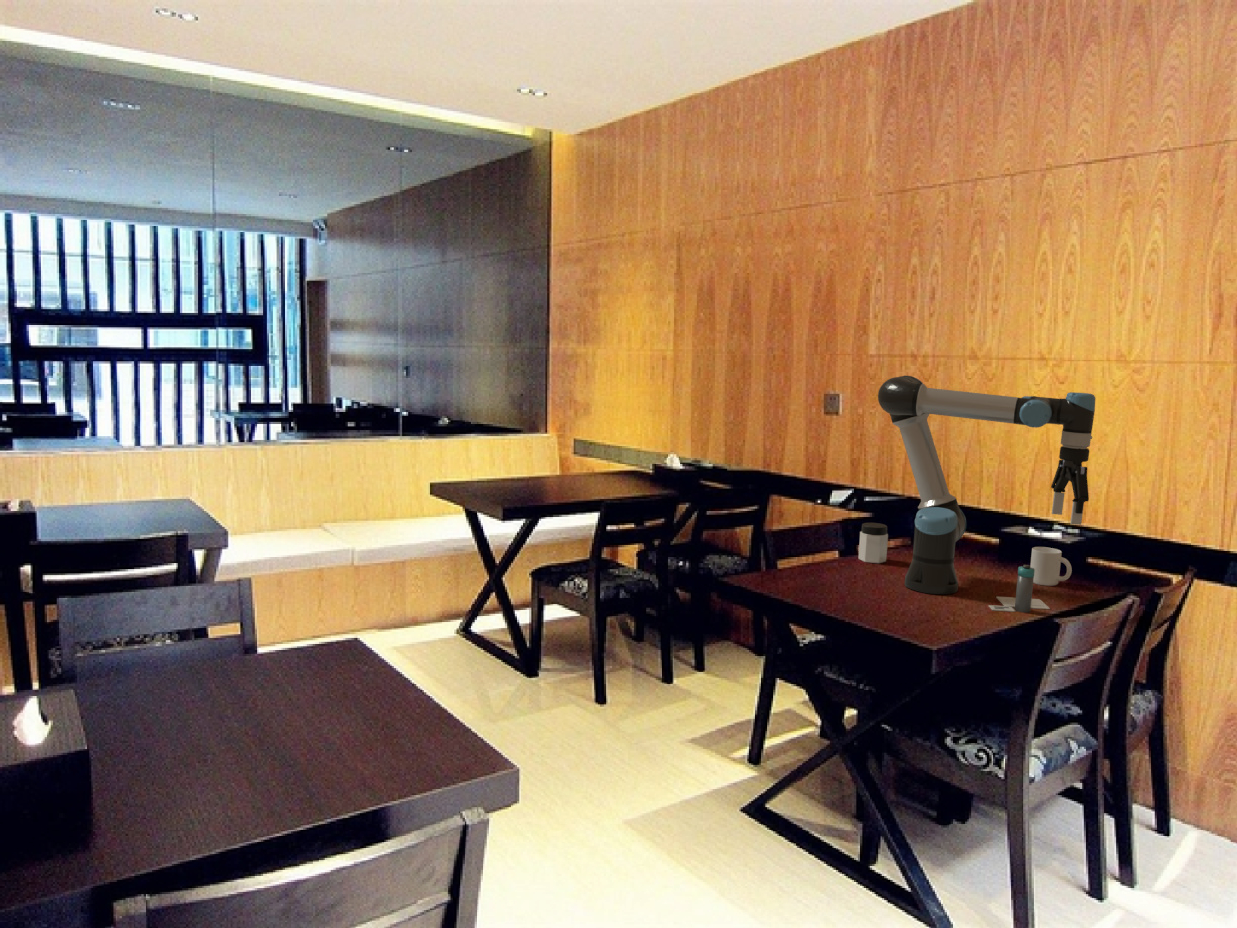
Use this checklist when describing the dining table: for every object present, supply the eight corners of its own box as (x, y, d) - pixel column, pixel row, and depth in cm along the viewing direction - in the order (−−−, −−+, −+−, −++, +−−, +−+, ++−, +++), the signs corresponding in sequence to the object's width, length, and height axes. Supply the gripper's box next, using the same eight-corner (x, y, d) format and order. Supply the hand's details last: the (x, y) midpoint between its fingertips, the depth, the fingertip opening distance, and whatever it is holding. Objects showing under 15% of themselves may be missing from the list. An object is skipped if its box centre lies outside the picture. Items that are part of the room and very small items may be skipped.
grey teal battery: (1017, 612, 247) (1021, 566, 245) (1012, 607, 251) (1016, 563, 250) (1032, 613, 247) (1037, 567, 245) (1027, 608, 251) (1032, 564, 249)
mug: (1075, 586, 275) (1078, 553, 274) (1063, 590, 270) (1066, 557, 269) (1036, 577, 284) (1039, 545, 283) (1024, 581, 279) (1027, 549, 278)
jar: (890, 563, 297) (892, 527, 295) (867, 564, 295) (870, 528, 294) (876, 556, 306) (879, 521, 304) (854, 557, 304) (857, 522, 302)
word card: (992, 610, 248) (992, 609, 248) (988, 606, 252) (988, 604, 252) (1015, 611, 247) (1015, 610, 247) (1010, 607, 251) (1011, 606, 251)
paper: (1004, 606, 252) (1004, 605, 252) (996, 597, 261) (996, 596, 261) (1049, 609, 251) (1050, 608, 250) (1039, 600, 259) (1039, 598, 259)
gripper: (1108, 453, 245) (1098, 529, 248) (1070, 441, 270) (1062, 511, 273) (1079, 452, 246) (1070, 527, 249) (1044, 440, 270) (1036, 509, 274)
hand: (1065, 519), depth 261 cm, fingers open, 13 cm apart
